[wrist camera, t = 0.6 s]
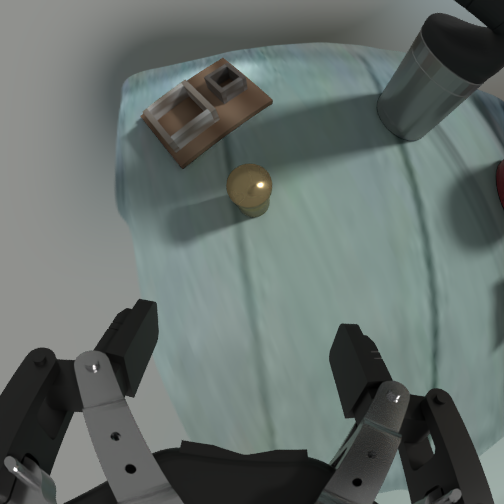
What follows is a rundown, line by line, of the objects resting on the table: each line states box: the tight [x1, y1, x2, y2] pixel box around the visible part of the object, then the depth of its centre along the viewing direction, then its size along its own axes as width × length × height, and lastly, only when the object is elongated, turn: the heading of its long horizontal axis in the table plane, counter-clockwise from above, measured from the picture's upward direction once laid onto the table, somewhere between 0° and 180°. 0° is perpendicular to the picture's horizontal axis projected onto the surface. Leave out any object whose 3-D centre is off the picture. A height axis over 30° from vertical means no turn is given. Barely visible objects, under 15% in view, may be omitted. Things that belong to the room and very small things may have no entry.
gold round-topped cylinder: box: [226, 164, 272, 217], centre depth 31 cm, size 5×5×8 cm
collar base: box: [141, 58, 273, 169], centre depth 34 cm, size 16×12×4 cm
